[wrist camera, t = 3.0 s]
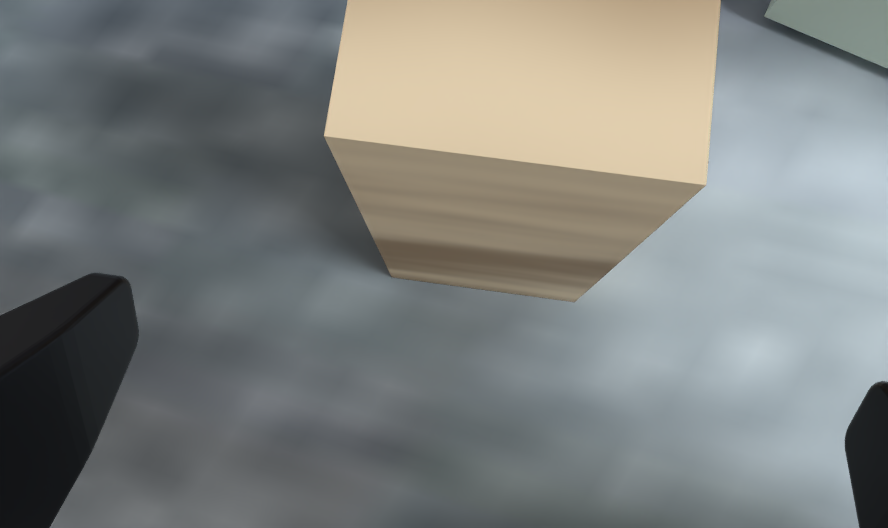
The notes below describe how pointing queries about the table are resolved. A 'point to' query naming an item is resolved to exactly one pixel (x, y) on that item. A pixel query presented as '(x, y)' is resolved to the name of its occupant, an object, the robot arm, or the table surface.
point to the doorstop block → (521, 133)
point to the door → (839, 24)
